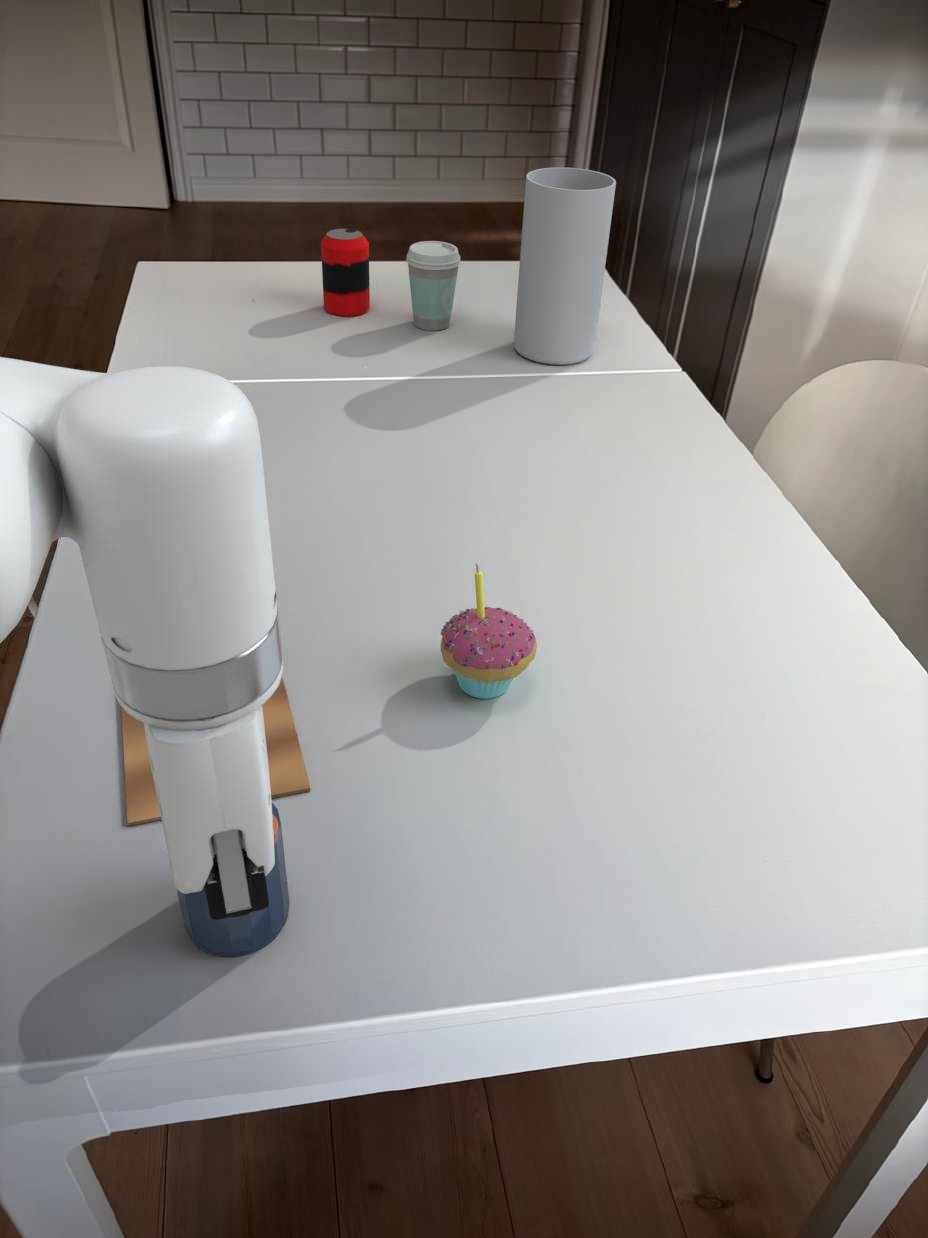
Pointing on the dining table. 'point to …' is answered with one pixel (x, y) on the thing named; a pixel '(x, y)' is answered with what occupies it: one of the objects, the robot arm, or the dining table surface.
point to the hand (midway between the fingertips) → (238, 902)
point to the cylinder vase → (562, 263)
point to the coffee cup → (432, 283)
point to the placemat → (280, 751)
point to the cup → (244, 930)
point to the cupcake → (486, 647)
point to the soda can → (345, 272)
